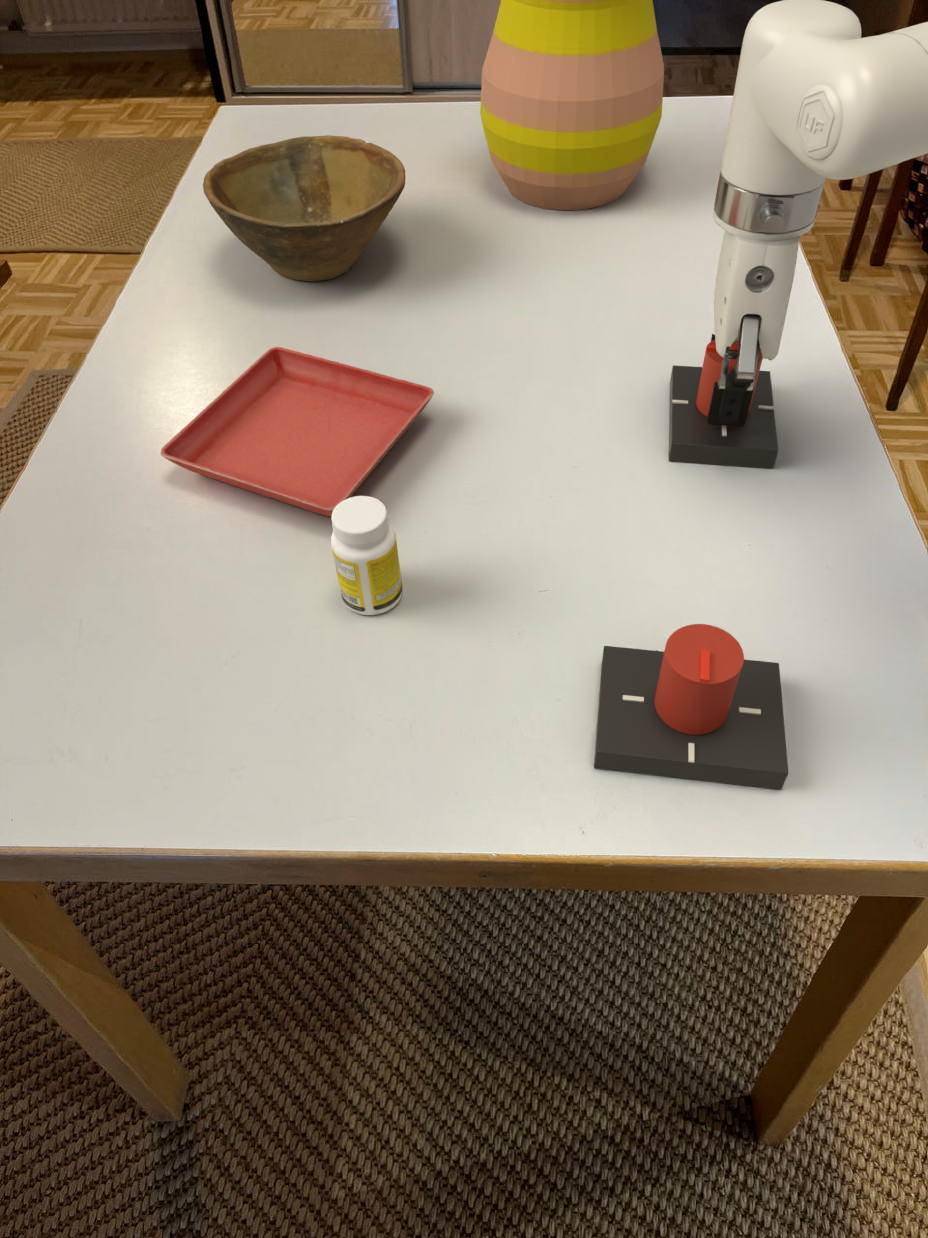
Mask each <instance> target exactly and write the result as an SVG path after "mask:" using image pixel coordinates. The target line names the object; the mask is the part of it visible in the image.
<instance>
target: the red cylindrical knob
mask: <svg viewBox="0 0 928 1238" xmlns="http://www.w3.org/2000/svg"><path fill="white" fill-rule="evenodd" d="M738 347H739V343H733V344H732V345H731V347H730V349H729V350H738ZM721 360H722V356H720V355H719V354H718V352H717V351H716V341H715V339H714V340H712V341H711V340H710V341H709V342H708V344H706V347H705V351H704V358H703V362H702V366H701V367H702V373H701V378H700V383H699V389H698V394H697V399H696V406H697V408H698V410H699V411H700V412H701V413H702V414H704V415H705V416H707V417H708V412H709V407H710V402H711V397H712V392H713V388H714V383H715V382H718V381H719V374H720V367H721ZM763 360H764V359H763V357H762V352H761V348H760V349H759V356H758V361H757V368H756V374H755V380H754V390H753V394H752V398H751V402H750V406H749V411H750V408H751V404H752V400H753V396H754V392H755V388H756V384H757V379H758V375H759V371H761V366H762V363H763ZM736 365H737V359H730V362H729V368H728V373H729V372H730V371H731V370H735V367H736ZM749 411H748V413H749Z"/></svg>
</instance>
